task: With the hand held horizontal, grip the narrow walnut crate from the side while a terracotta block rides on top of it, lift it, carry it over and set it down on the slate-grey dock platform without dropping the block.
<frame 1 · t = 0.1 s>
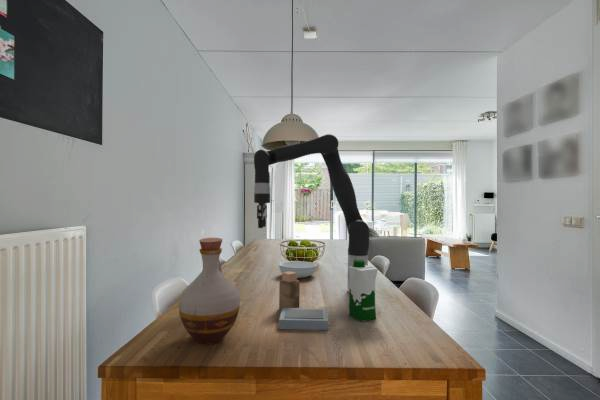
hand: (262, 227, 154), 29 cm above the table, tool pointing down, fingers open, 8 cm apart
jug: (210, 338, 99), on the table
serving bowl: (297, 276, 183), on the table
dock: (303, 322, 112), on the table
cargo: (289, 280, 127), point 11 cm above the table, touching crate
milk carton: (362, 317, 119), on the table
crate: (289, 309, 127), on the table, touching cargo
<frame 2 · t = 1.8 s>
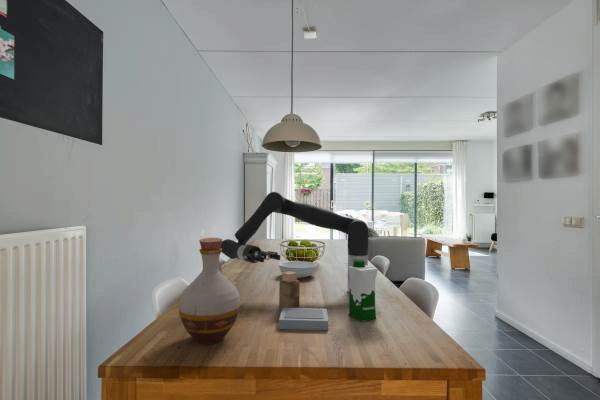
hand: (271, 258, 135), 18 cm above the table, tool horizontal, fingers open, 8 cm apart
nothing on the table moved.
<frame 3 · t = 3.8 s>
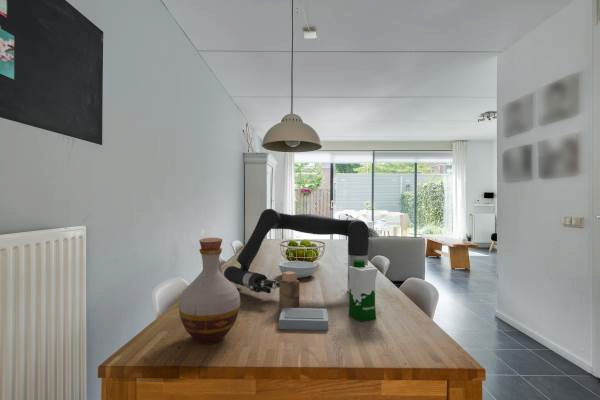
hand: (278, 288, 132), 6 cm above the table, tool horizontal, fingers open, 8 cm apart
nothing on the table moved.
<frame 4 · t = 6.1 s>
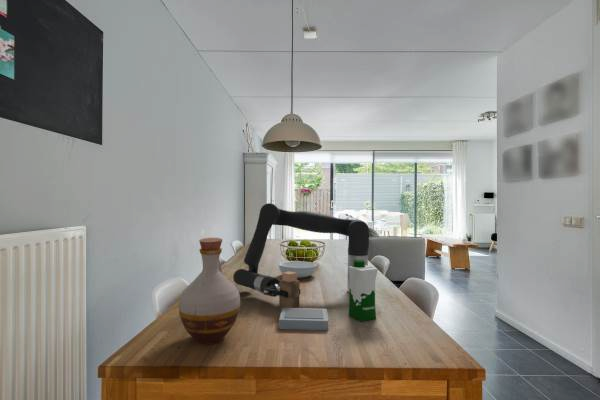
hand: (293, 293, 125), 7 cm above the table, tool horizontal, fingers closed on crate, 5 cm apart
crate: (289, 309, 127), on the table, touching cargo, gripper
everything else where it was.
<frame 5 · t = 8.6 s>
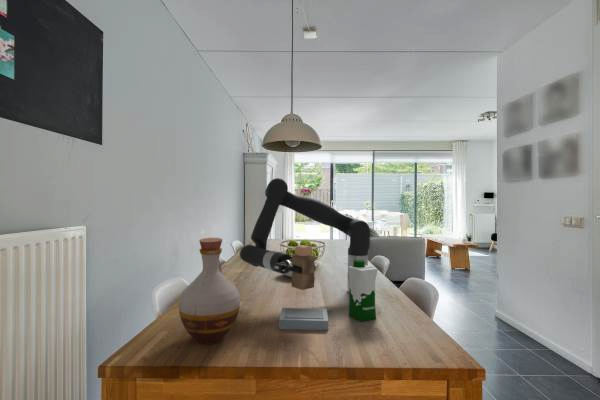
hand: (308, 269, 111), 19 cm above the table, tool horizontal, fingers closed on crate, 5 cm apart
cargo: (303, 255, 113), point 23 cm above the table, touching crate
crate: (302, 286, 113), point 12 cm above the table, touching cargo, gripper
everything else where it was.
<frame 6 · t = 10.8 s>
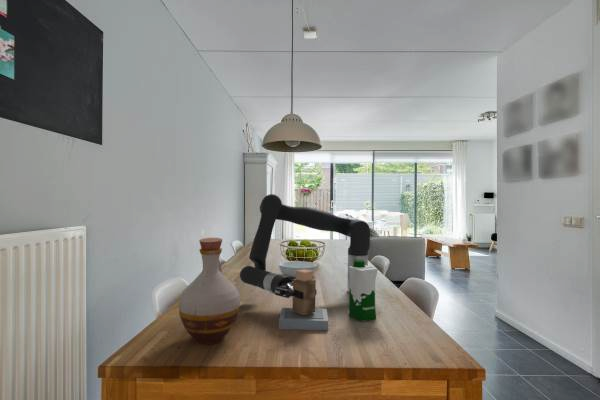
hand: (309, 294, 111), 10 cm above the table, tool horizontal, fingers closed on crate, 5 cm apart
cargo: (304, 279, 112), point 15 cm above the table, touching crate
crate: (303, 311, 112), point 4 cm above the table, touching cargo, gripper
everything else where it was.
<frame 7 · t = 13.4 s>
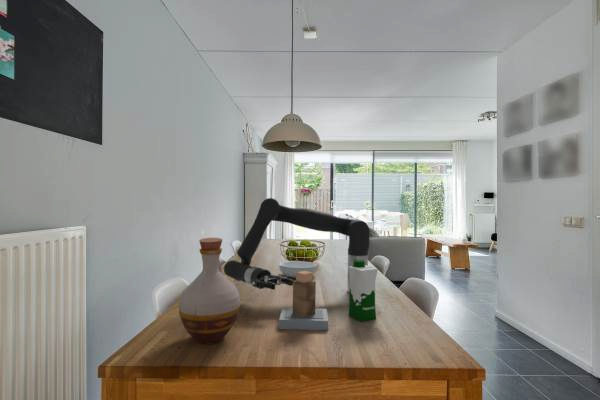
hand: (283, 284, 121), 11 cm above the table, tool horizontal, fingers open, 8 cm apart
crate: (303, 313, 112), point 3 cm above the table, touching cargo, dock
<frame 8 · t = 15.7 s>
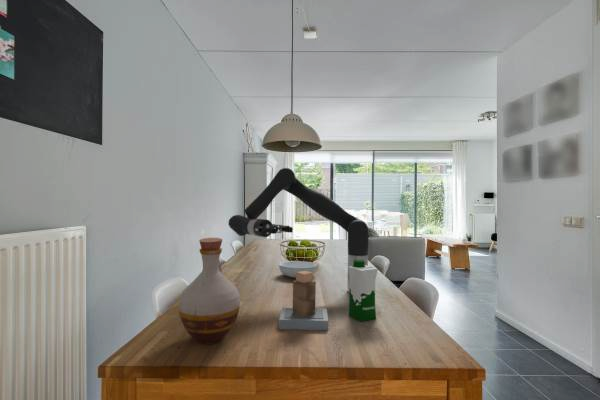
hand: (284, 230, 131), 30 cm above the table, tool horizontal, fingers open, 8 cm apart
nothing on the table moved.
at the end: crate inside the target area on the dock (0.1 cm from its centre), point 3.2 cm above the dock's base; crate tilted 0°; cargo 0.0 cm off-centre on the crate, point 11.0 cm above the crate's base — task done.
